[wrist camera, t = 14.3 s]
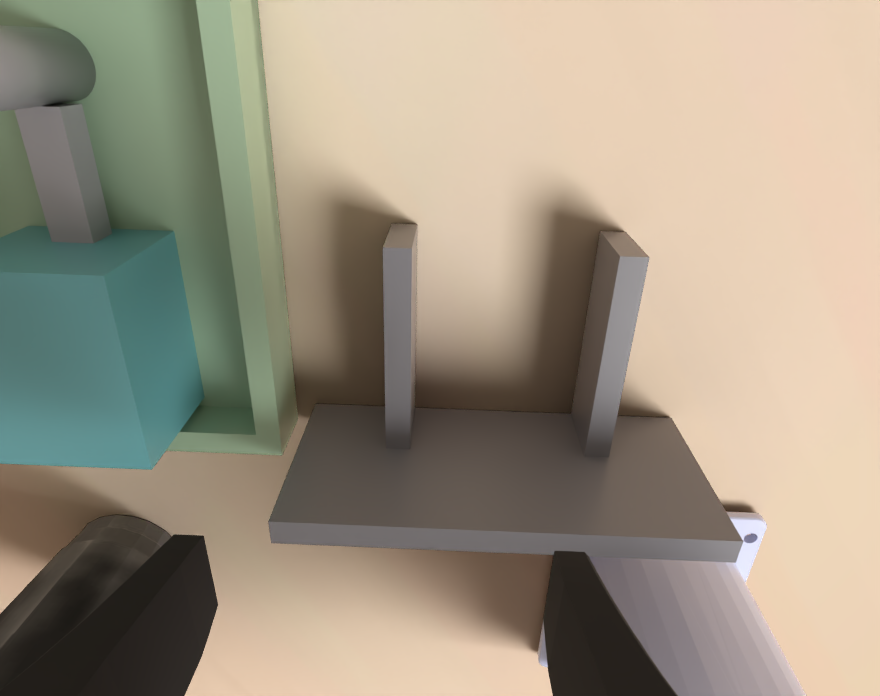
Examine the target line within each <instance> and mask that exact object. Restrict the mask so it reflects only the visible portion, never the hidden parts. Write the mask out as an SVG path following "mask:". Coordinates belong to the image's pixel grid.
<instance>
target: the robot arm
mask: <svg viewBox="0 0 880 696" xmlns="http://www.w3.org/2000/svg"><path fill="white" fill-rule="evenodd" d="M727 514H728V516H729V518H730V519H731V521H732V523H733V524H734V526H735V528H736V530H737V531H738V533H739V535H740V536H741V538H742V540H743V544H742V547H741V550H740V552H739V555H738V558H737V561H736V563H731V562H707V561H683V560H660V559H636V558H612V557H589V556H588V555H587V554H586V553H585V552H576V551H554V556H553V562H552V568H551V575H550V581H549V587H548V593H547V599H546V605H545V611H544V617H543V624H542V630H541V636H540V642H539V648H538V660H539V663H540V664H541V665H542V666H544V667H548V672H549V678H550V683H551V688H552V693H553V696H807V695H806V693H805V692H804V690H803V688H802V686H801V684H800V682H799V681H798V679H797V677H796V675H795V673H794V671H793V669H792V668H791V666H790V664H789V662H788V660H787V658H786V657H785V655H784V653H783V651H782V649H781V647H780V645H779V644H778V642H777V640H776V638H775V636H774V634H773V633H772V631H771V629H770V627H769V625H768V623H767V621H766V620H765V618H764V616H763V614H762V612H761V610H760V609H759V607H758V605H757V603H756V601H755V599H754V597H753V596H752V594H751V592H750V590H749V588H748V586H747V585H746V580H747V578H748V575H749V573H750V570H751V567H752V565H753V562H754V559H755V557H756V554H757V552H758V549H759V546H760V544H761V541H762V539H763V536H764V533H765V531H766V527H767V524H766V522H765V520H764V519H763V517H762V516H761V515H759V514H757V513H747V512H727ZM747 534H749V535H747ZM746 535H747V536H746ZM217 606H218V602H217V598H216V593H215V588H214V583H213V579H212V574H211V569H210V564H209V559H208V555H207V550H206V545H205V540H204V536H197V535H173V536H172V537H171V538H170V539H169V540H168V541H167V542H165V543H164V544H163V545H162V546H161V547H160V548H159V549H158V550H157V551H156V552H155V553H154V554H153V555H152V556H151V557H150V558H149V559H148V560H147V561H146V562H145V563H143V564H142V565H141V566H140V567H139V568H138V569H137V570H136V571H135V572H134V573H133V574H132V575H131V576H130V577H129V578H128V579H127V580H126V581H125V582H124V583H123V584H122V585H121V586H119V587H118V588H117V589H116V590H115V591H114V592H113V593H112V594H111V595H110V596H109V597H108V598H107V599H106V600H104V601H103V602H102V603H101V604H100V605H99V606H98V607H97V608H96V609H95V610H94V611H93V612H91V613H90V614H89V615H88V616H87V617H86V618H85V619H84V620H83V621H82V622H81V623H79V624H78V625H77V626H76V627H75V628H74V629H73V630H72V631H70V632H69V633H68V634H67V635H66V636H65V637H64V638H62V639H61V640H60V641H59V642H58V643H57V644H55V645H54V646H53V647H52V648H51V649H50V650H48V651H47V652H46V653H45V654H44V655H43V656H41V657H40V658H39V659H38V660H37V661H36V662H34V663H33V664H32V665H31V666H30V667H28V668H27V669H26V670H25V671H23V672H22V673H21V674H20V675H19V676H17V677H16V678H15V679H14V680H12V681H11V682H10V683H9V684H7V685H6V686H5V687H4V688H2V689H1V690H0V696H184V695H185V693H186V691H187V689H188V686H189V684H190V682H191V680H192V677H193V675H194V673H195V671H196V668H197V666H198V664H199V661H200V659H201V657H202V654H203V651H204V648H205V645H206V642H207V639H208V636H209V633H210V629H211V626H212V623H213V619H214V616H215V613H216V610H217Z"/></svg>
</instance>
